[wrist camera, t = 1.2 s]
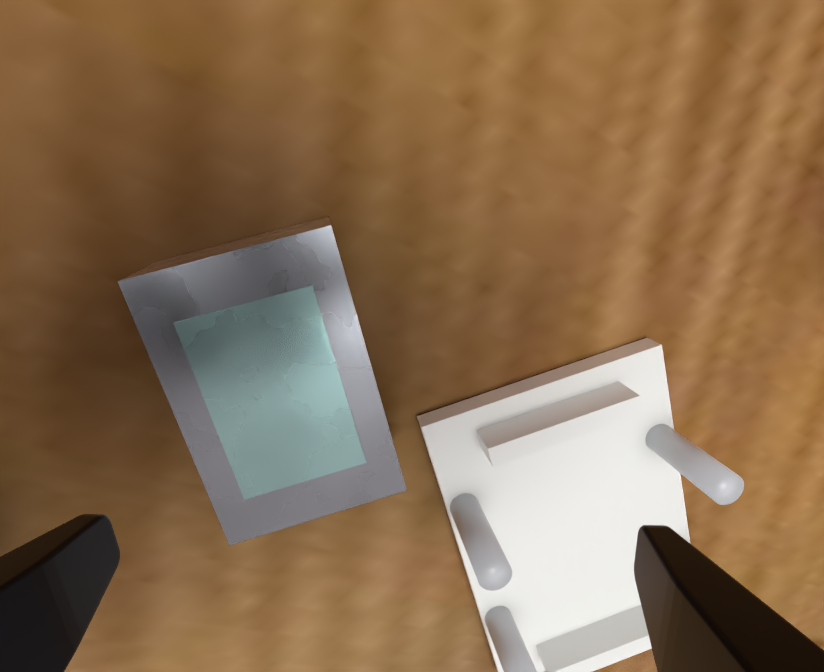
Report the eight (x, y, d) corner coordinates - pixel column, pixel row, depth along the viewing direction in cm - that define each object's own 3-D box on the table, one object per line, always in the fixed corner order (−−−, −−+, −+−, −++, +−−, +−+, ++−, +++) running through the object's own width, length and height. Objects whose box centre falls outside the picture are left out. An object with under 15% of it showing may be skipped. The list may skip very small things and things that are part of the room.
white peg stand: (496, 668, 26) (536, 778, 21) (416, 416, 21) (444, 484, 17) (686, 595, 26) (766, 686, 22) (646, 337, 22) (736, 380, 17)
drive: (245, 479, 21) (229, 547, 17) (158, 260, 18) (116, 282, 15) (391, 436, 22) (407, 492, 18) (328, 215, 19) (331, 225, 15)
